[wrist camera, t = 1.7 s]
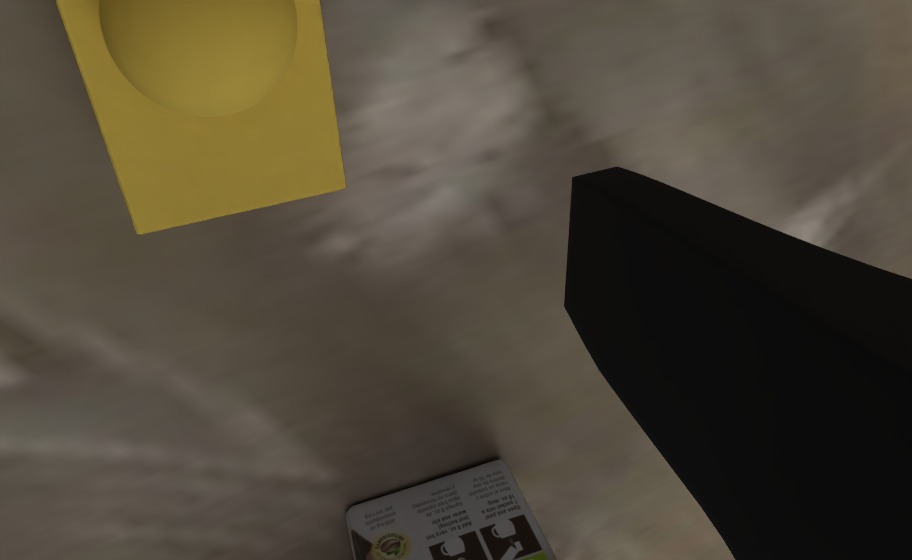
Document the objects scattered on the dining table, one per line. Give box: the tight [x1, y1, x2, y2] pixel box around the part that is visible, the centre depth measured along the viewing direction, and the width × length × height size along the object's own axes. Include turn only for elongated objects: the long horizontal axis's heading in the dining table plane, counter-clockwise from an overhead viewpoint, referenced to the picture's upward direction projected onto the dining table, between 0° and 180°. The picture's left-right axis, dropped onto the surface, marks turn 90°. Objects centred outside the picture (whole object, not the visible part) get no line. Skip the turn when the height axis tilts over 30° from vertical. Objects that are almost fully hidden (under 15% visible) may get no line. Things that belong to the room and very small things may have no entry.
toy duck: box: [55, 0, 346, 235], centre depth 14 cm, size 7×4×6 cm, turn 3°
